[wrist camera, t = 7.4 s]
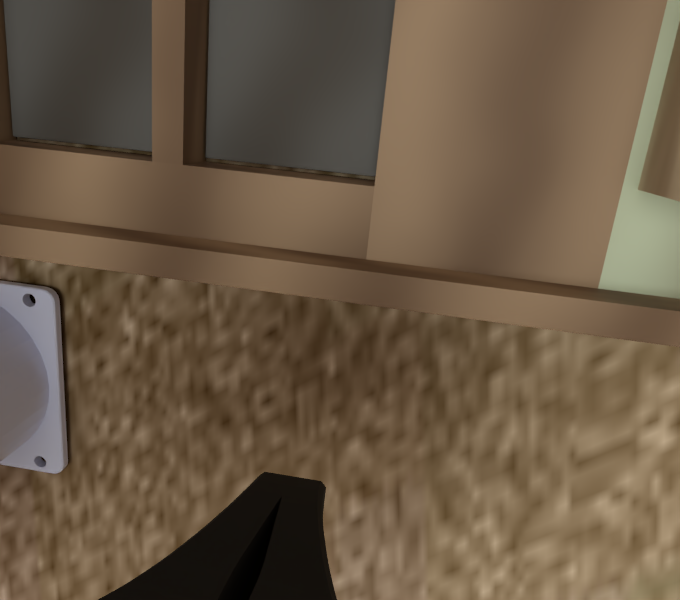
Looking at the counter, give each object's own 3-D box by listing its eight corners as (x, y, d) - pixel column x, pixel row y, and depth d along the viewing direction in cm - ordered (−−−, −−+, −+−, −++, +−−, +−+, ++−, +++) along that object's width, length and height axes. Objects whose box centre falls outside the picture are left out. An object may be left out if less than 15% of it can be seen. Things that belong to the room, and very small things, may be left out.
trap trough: (-3, 227, 21) (-80, 245, 18) (-37, -192, 18) (-143, -265, 14) (795, 329, 19) (875, 373, 15) (963, -142, 15) (1120, -220, 11)
